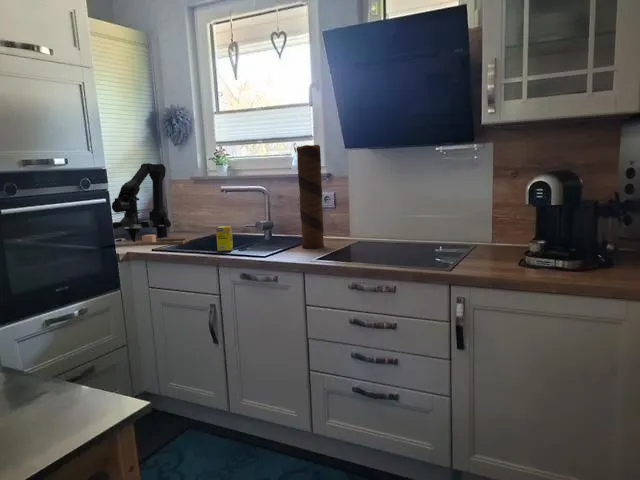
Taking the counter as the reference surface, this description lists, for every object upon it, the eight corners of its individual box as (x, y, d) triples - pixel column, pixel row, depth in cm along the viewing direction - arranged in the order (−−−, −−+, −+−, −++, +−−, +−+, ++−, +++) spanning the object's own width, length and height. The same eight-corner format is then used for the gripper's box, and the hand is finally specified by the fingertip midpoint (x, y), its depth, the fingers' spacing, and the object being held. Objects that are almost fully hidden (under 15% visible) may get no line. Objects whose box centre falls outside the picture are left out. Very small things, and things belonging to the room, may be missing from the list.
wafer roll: (312, 249, 225) (308, 144, 218) (296, 247, 233) (292, 145, 226) (329, 246, 232) (326, 144, 225) (314, 244, 240) (310, 145, 233)
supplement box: (230, 252, 228) (229, 227, 226) (217, 252, 228) (215, 227, 227) (233, 249, 234) (231, 225, 232) (220, 250, 234) (218, 226, 232)
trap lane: (147, 243, 263) (147, 239, 262) (190, 242, 261) (189, 238, 261) (137, 247, 251) (137, 243, 250) (182, 246, 249) (182, 241, 249)
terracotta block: (146, 242, 259) (145, 234, 258) (156, 242, 259) (155, 234, 258) (142, 244, 254) (141, 236, 253) (152, 244, 254) (151, 236, 253)
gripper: (105, 212, 247) (108, 245, 249) (143, 211, 246) (146, 244, 248) (115, 210, 258) (118, 241, 260) (152, 209, 257) (155, 240, 259)
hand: (134, 241), depth 257 cm, fingers closed
